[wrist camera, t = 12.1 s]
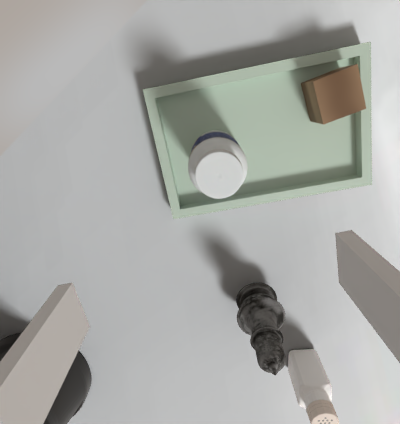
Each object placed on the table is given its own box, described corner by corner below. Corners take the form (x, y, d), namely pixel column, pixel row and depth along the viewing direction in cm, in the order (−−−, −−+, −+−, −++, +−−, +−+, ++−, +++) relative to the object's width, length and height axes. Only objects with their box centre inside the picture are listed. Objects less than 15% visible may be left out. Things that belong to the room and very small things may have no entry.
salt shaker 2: (315, 368, 46) (341, 434, 37) (287, 370, 46) (307, 436, 37) (316, 346, 45) (343, 409, 36) (287, 348, 45) (308, 411, 36)
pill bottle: (187, 133, 34) (180, 147, 25) (236, 125, 34) (248, 137, 25) (195, 181, 36) (191, 211, 27) (242, 174, 36) (255, 202, 26)
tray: (174, 213, 38) (173, 219, 36) (146, 89, 33) (142, 89, 31) (363, 179, 36) (371, 184, 34) (360, 44, 32) (370, 41, 30)
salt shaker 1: (226, 292, 42) (234, 365, 30) (267, 273, 41) (291, 342, 29) (246, 324, 43) (261, 404, 32) (286, 307, 42) (315, 384, 31)
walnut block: (310, 121, 34) (323, 124, 30) (300, 83, 32) (313, 81, 28) (348, 107, 33) (366, 108, 29) (339, 67, 32) (357, 64, 28)
